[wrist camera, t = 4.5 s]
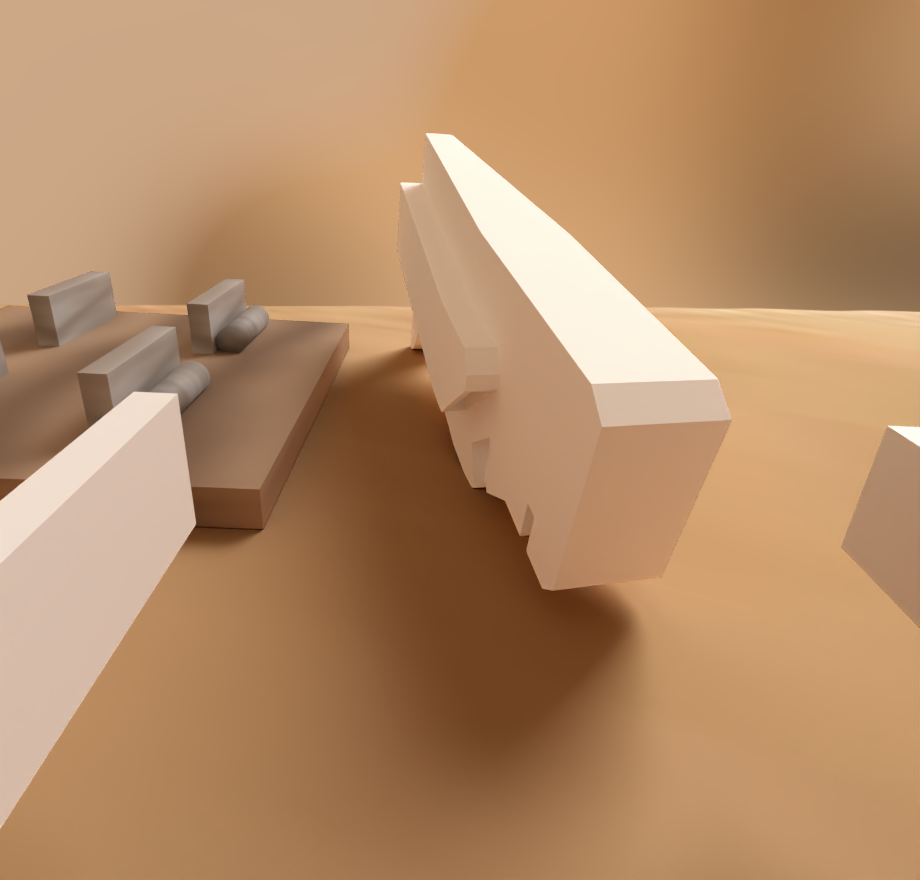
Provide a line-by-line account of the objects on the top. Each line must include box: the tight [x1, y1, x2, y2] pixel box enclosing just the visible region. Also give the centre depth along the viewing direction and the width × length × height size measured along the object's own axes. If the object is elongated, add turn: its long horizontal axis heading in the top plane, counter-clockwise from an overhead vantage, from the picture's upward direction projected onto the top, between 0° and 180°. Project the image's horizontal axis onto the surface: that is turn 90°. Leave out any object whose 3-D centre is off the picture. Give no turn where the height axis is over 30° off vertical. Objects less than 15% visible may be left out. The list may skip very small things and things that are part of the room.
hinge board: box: [0, 271, 349, 529], centre depth 29 cm, size 20×20×4 cm
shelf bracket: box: [397, 133, 732, 591], centre depth 27 cm, size 6×25×13 cm, turn 15°
